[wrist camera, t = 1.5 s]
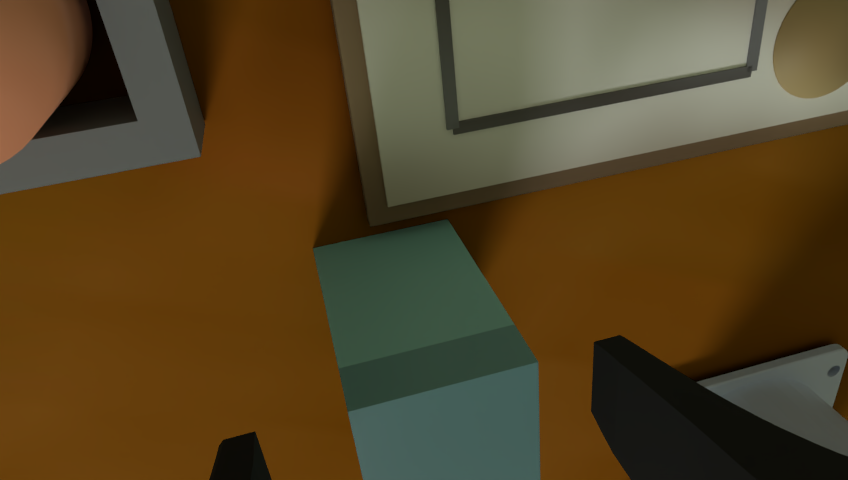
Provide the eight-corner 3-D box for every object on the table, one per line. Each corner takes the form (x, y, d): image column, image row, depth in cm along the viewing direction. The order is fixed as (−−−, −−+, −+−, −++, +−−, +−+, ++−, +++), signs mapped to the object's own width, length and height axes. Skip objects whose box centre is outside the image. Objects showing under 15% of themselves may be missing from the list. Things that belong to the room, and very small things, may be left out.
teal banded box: (457, 325, 19) (540, 489, 14) (337, 355, 18) (376, 538, 13) (447, 218, 17) (538, 361, 12) (313, 248, 16) (348, 412, 11)
